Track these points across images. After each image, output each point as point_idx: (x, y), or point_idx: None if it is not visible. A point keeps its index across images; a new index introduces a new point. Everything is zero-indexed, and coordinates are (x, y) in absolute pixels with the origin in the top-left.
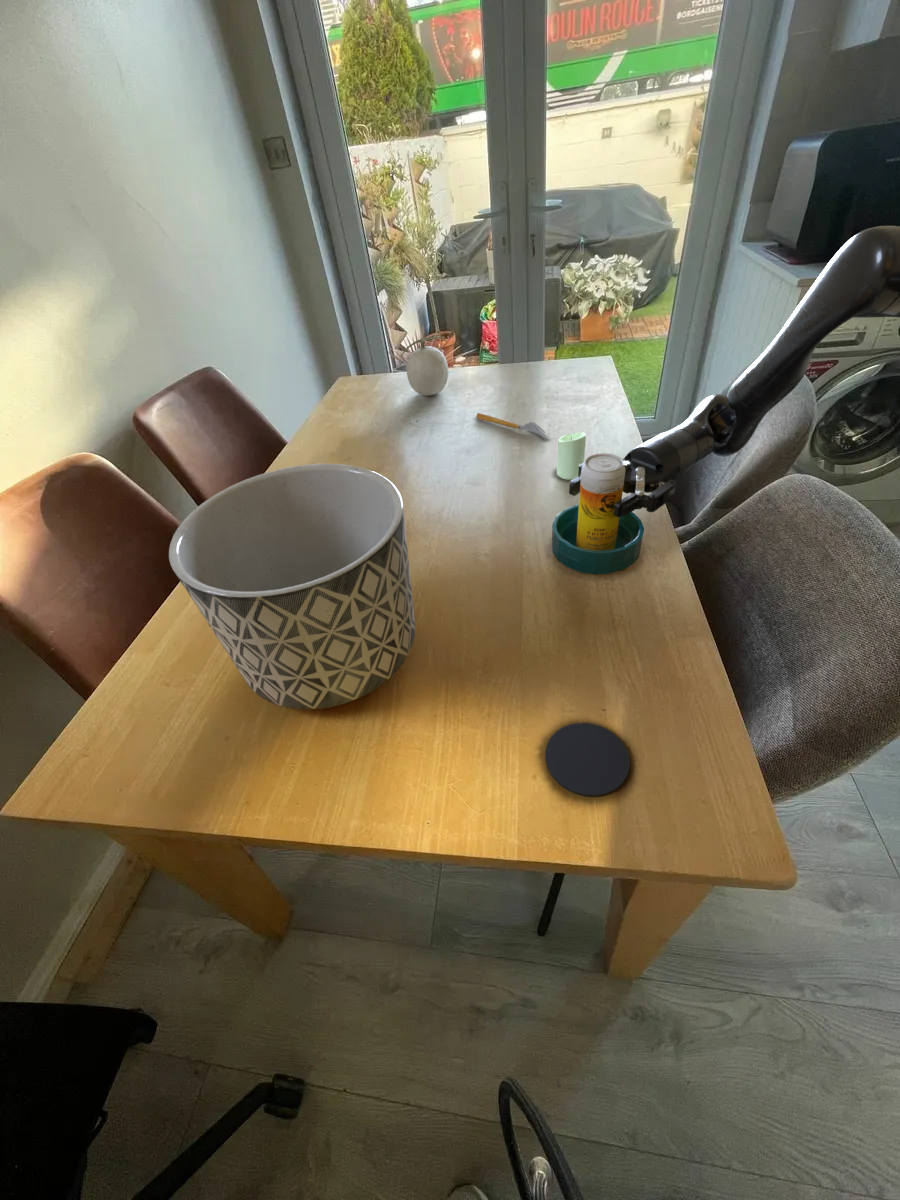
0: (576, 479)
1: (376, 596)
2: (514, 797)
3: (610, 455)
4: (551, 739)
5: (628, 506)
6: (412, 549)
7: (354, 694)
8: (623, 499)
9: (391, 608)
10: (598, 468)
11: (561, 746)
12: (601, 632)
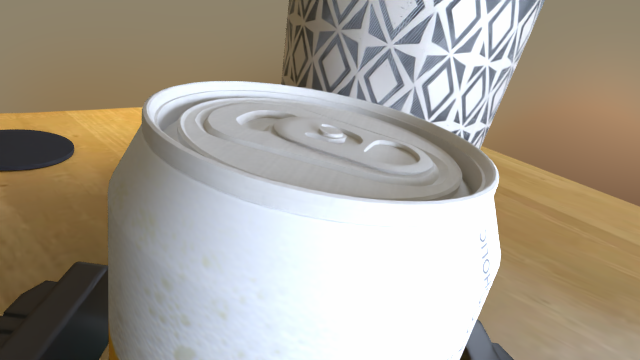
0: (494, 355)
1: (290, 3)
2: (87, 126)
3: (397, 205)
4: (70, 150)
5: (16, 302)
6: (542, 285)
7: None
8: (69, 304)
9: (291, 41)
10: (303, 111)
11: (54, 147)
12: (45, 279)
